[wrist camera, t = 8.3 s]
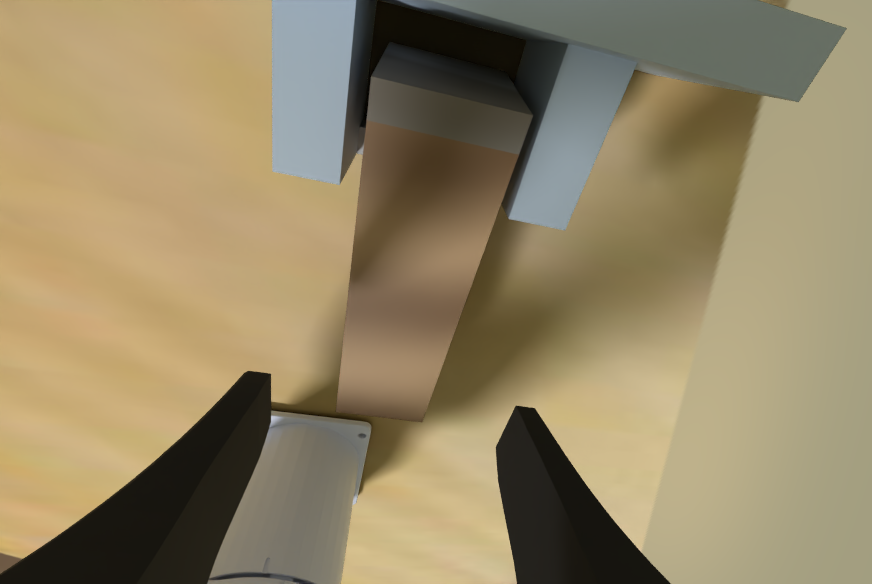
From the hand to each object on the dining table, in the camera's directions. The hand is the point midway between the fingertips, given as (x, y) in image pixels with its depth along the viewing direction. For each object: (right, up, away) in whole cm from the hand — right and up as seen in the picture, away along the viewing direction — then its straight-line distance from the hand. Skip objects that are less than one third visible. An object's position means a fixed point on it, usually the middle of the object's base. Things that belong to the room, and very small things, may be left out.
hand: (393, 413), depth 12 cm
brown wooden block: (0, +6, +6) cm, 9 cm away
